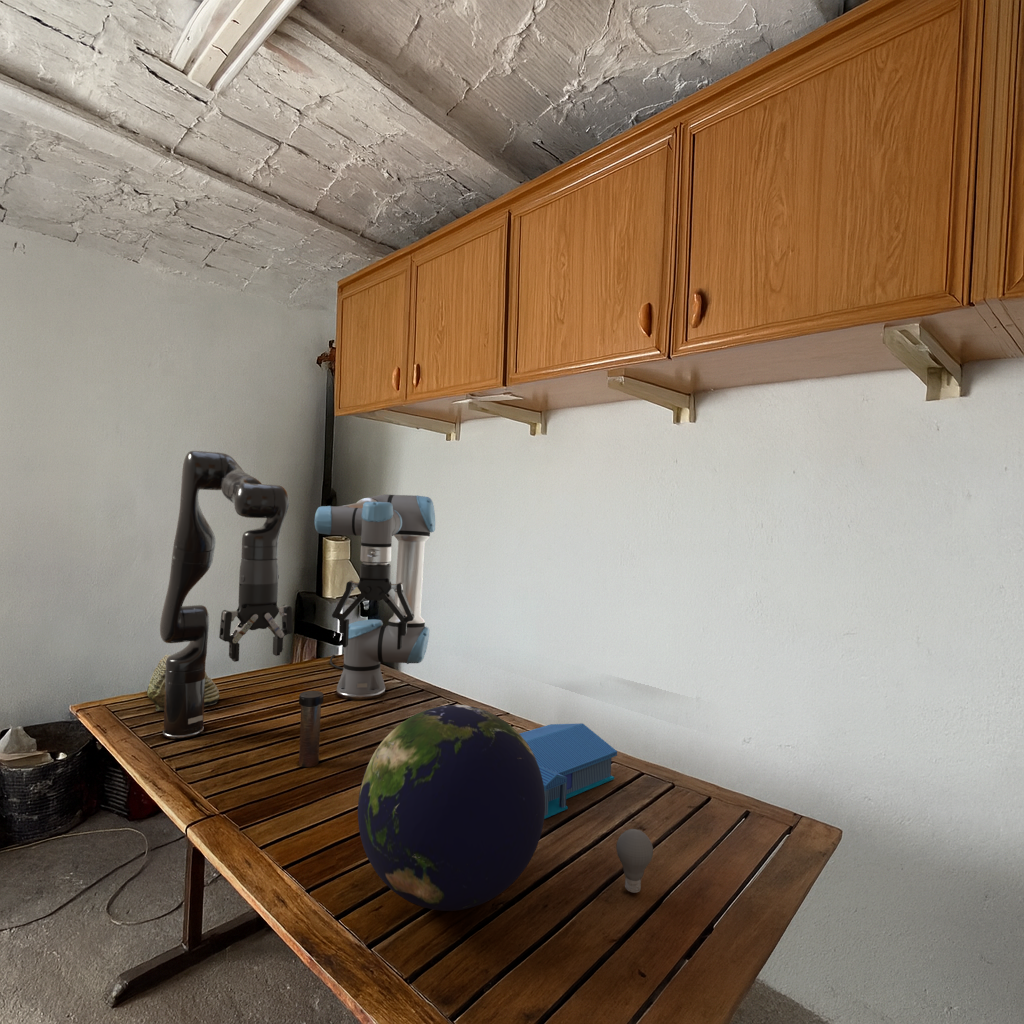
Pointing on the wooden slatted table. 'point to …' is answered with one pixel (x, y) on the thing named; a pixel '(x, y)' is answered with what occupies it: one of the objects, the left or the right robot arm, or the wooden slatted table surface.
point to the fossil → (158, 687)
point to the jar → (309, 736)
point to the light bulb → (634, 857)
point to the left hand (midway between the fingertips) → (256, 657)
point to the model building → (569, 761)
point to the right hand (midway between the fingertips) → (372, 647)
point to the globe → (451, 807)
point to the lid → (311, 698)
